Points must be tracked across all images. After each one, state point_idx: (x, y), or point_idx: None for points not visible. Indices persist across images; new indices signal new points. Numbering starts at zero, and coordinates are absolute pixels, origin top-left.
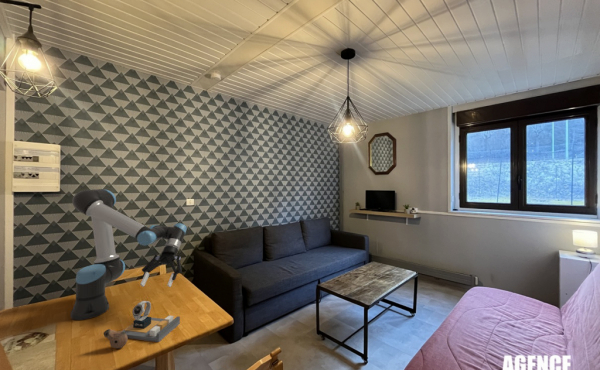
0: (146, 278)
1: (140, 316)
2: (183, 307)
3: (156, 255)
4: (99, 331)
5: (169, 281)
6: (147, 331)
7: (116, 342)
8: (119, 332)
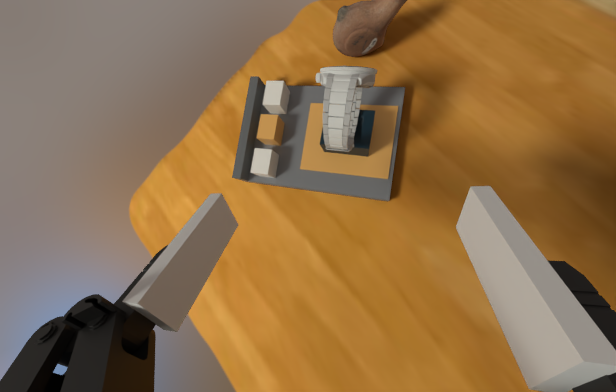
0: (496, 286)
1: (368, 143)
2: (278, 294)
3: None
4: (510, 112)
5: (198, 213)
6: (309, 110)
7: (374, 49)
8: (355, 6)
